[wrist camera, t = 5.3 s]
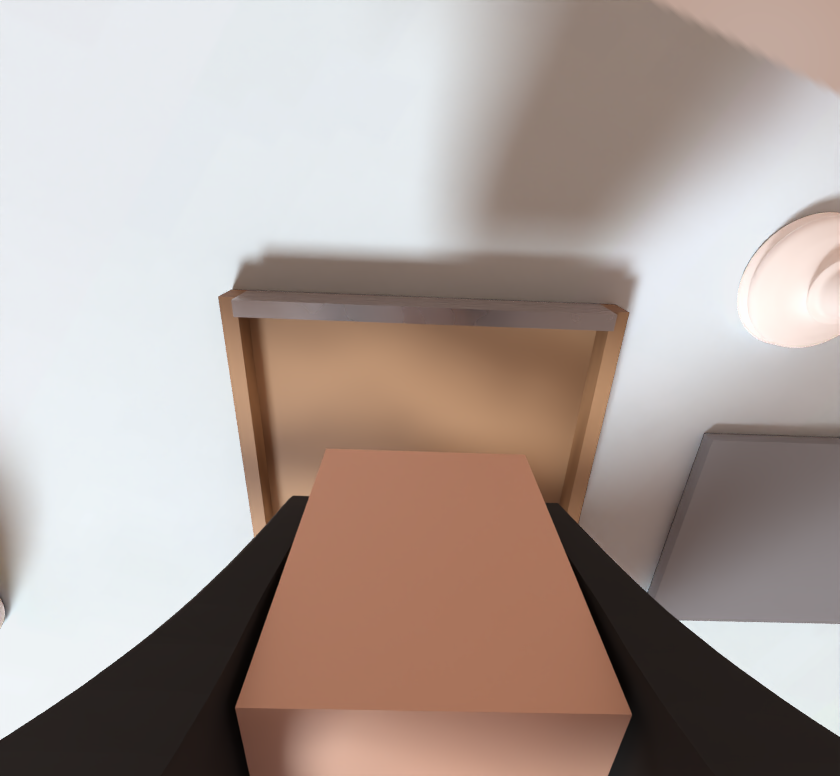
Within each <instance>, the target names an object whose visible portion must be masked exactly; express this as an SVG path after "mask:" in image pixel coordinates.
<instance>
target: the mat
mask: <svg viewBox="0 0 840 776" xmlns="http://www.w3.org/2000/svg"><path fill="white" fill-rule="evenodd" d="M648 594H649V595H650V596H651V597H652V598H654V599H655V600H656V601H657V602H658V603H659V604H660V605H661V606H662V607H664V608H665V609H666V610H667V611H668V612H669V613H670V614H672V615H673V616H674V617H675V618H676V619H677V620H691V621H736V622H781V623H826V624H840V438H832V437H802V436H771V435H740V434H709V433H704V436H703V439H702V442H701V445H700V447H699V450H698V453H697V456H696V459H695V462H694V464H693V467H692V470H691V473H690V476H689V478H688V481H687V484H686V487H685V490H684V492H683V495H682V498H681V501H680V504H679V507H678V509H677V512H676V515H675V518H674V521H673V523H672V526H671V529H670V532H669V535H668V537H667V540H666V543H665V546H664V549H663V552H662V554H661V557H660V560H659V563H658V566H657V568H656V571H655V574H654V577H653V580H652V582H651V585H650V588H649V591H648Z"/></svg>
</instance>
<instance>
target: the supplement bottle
mask: <svg viewBox="0 0 840 776" xmlns="http://www.w3.org/2000/svg"><path fill="white" fill-rule="evenodd" d="M4 618H5V609H4V605H3V603H2V601H1V599H0V628H1V626H2V624H3V621H4Z"/></svg>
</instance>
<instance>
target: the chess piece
mask: <svg viewBox="0 0 840 776" xmlns="http://www.w3.org/2000/svg"><path fill="white" fill-rule="evenodd" d="M737 308H738V313H739V317H740V319H741V322H742V324H743V325H744V327H745V328H746V330H747V331H748V332H749V333H750V334H751V335H752V336H754V337H755V338H757V339H759V340H761V341H763V342H766V343H769V344H774V345H778V346H782V347H788V348H803V347H809V346H814V345H818V344H821V343H824V342H826V341H829V340H831V339H833V338H835V337H837V336H839V335H840V213H837V212H824V213H817V214H813V215H809V216H806V217H803V218H801V219H798V220H796V221H794V222H792V223H790V224H788V225H787V226H785V227H783V228H782V229H780V230H779V231H778V232H776V233H775V234H774V235H773V236H771V237H770V238H769V239H768V240H767V241H766V242H765V243H764V244H763V245H762V246H761V247H760V248H759V249H758V251H757V252H756V253H755V254H754V256H753V257H752V259H751V260H750V262H749V264H748V265H747V267H746V269H745V271H744V273H743V276H742V278H741V281H740V284H739V289H738V295H737Z"/></svg>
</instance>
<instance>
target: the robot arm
mask: <svg viewBox="0 0 840 776" xmlns="http://www.w3.org/2000/svg"><path fill="white" fill-rule="evenodd" d="M308 499H309V496H292V497H290V498H289V499H288V500H287V501H286V503H285V504H284V505H283V506H282V507H281V508H280V509H279V511H278V512H277V513H276V514H275V515H274V516H273V517H272V519H271V520H270V521H269V522H268V523H267V524H266V525H265V526H264V527H263V529H262V530H261V531H260V532H259V533H258V534H257V535H256V536H255V537H254V538H253V539H252V541H251V542H250V543H249V544H248V545H247V546H246V547H245V548H244V549H243V550H242V551H241V552H240V553H239V554H238V555H237V556H236V557H235V558H234V559H233V560H232V561H231V562H230V563H229V564H228V565H227V566H226V567H225V568H224V569H223V570H222V571H221V572H220V573H219V574H218V575H217V576H216V577H215V578H214V579H213V580H212V581H211V582H210V583H209V584H208V585H207V586H205V587H204V588H203V589H202V590H201V591H200V592H199V593H198V594H197V595H196V596H195V597H194V598H193V599H192V600H190V601H189V602H188V603H187V604H186V605H185V606H184V607H183V608H181V609H180V610H179V611H178V612H177V613H176V614H174V615H173V616H172V617H171V618H170V619H169V620H167V621H166V622H165V623H164V624H163V625H161V626H160V627H159V628H158V629H157V630H155V631H154V632H153V633H152V634H150V635H149V636H148V637H147V638H145V639H144V640H143V641H142V642H140V643H139V644H138V645H136V646H135V647H134V648H133V649H131V650H130V651H129V652H127V653H126V654H125V655H123V656H122V657H121V658H119V659H118V660H117V661H115V662H114V663H113V664H111V665H110V666H109V667H107V668H106V669H104V670H103V671H102V672H100V673H99V674H98V675H96V676H95V677H94V678H92V679H91V680H90V681H88V682H87V683H86V684H84V685H83V686H81V687H80V688H78V689H77V690H75V691H74V692H73V693H71V694H70V695H68V696H67V697H65V698H64V699H62V700H61V701H59V702H58V703H56V704H55V705H53V706H52V707H50V708H49V709H48V710H46V711H45V712H43V713H41V714H40V715H38V716H37V717H35V718H34V719H32V720H31V721H29V722H28V723H26V724H25V725H23V726H21V727H20V728H18V729H17V730H15V731H14V732H12V733H11V734H9V735H8V736H6V737H4V738H3V739H1V740H0V776H250V774H249V769H248V765H247V760H246V756H245V751H244V747H243V742H242V737H241V733H240V728H239V724H238V719H237V715H236V710H235V706H236V704H237V701H238V698H239V695H240V692H241V689H242V686H243V684H244V681H245V678H246V675H247V672H248V669H249V667H250V664H251V661H252V658H253V655H254V652H255V650H256V647H257V644H258V641H259V638H260V635H261V632H262V630H263V627H264V624H265V621H266V618H267V615H268V613H269V610H270V607H271V604H272V601H273V598H274V596H275V593H276V590H277V587H278V584H279V581H280V578H281V576H282V573H283V570H284V567H285V564H286V561H287V559H288V556H289V553H290V550H291V547H292V544H293V542H294V539H295V536H296V533H297V530H298V527H299V524H300V522H301V519H302V516H303V513H304V510H305V507H306V505H307V502H308ZM545 504H546V507H547V509H548V511H549V514H550V516H551V519H552V521H553V524H554V526H555V528H556V531H557V533H558V536H559V538H560V541H561V543H562V545H563V548H564V550H565V553H566V555H567V558H568V560H569V562H570V565H571V567H572V570H573V572H574V575H575V577H576V579H577V582H578V584H579V587H580V589H581V592H582V594H583V596H584V599H585V601H586V604H587V606H588V609H589V611H590V613H591V616H592V618H593V621H594V623H595V626H596V628H597V630H598V633H599V635H600V638H601V640H602V642H603V645H604V647H605V650H606V652H607V655H608V657H609V659H610V662H611V664H612V667H613V669H614V672H615V674H616V676H617V679H618V681H619V684H620V686H621V689H622V691H623V693H624V696H625V698H626V701H627V703H628V706H629V708H630V710H631V713H632V716H631V719H630V721H629V724H628V726H627V729H626V731H625V734H624V736H623V739H622V741H621V744H620V746H619V749H618V751H617V754H616V757H615V759H614V762H613V764H612V767H611V769H610V772H609V774H608V776H840V737H839V736H838V735H836V734H834V733H833V732H831V731H830V730H828V729H827V728H825V727H823V726H822V725H820V724H819V723H817V722H816V721H814V720H813V719H811V718H810V717H808V716H807V715H805V714H804V713H802V712H801V711H799V710H798V709H796V708H795V707H793V706H792V705H790V704H789V703H787V702H786V701H784V700H783V699H782V698H780V697H779V696H777V695H776V694H775V693H773V692H772V691H770V690H769V689H768V688H766V687H765V686H763V685H762V684H761V683H759V682H758V681H756V680H755V679H754V678H752V677H751V676H749V675H748V674H747V673H745V672H744V671H742V670H741V669H740V668H738V667H737V666H736V665H734V664H733V663H732V662H730V661H729V660H728V659H726V658H725V657H724V656H722V655H721V654H720V653H718V652H717V651H716V650H715V649H713V648H712V647H711V646H710V645H708V644H707V643H706V642H705V641H703V640H702V639H701V638H700V637H698V636H697V635H696V634H695V633H693V632H692V631H691V630H690V629H688V628H687V627H686V626H685V625H683V624H682V623H681V622H680V621H679V620H677V619H676V618H675V617H674V616H673V615H672V614H670V613H669V612H668V611H667V610H666V609H665V608H664V607H662V606H661V605H660V604H659V603H658V602H657V601H656V600H655V599H654V598H652V597H651V596H650V595H649V594H648V593H647V592H646V591H645V590H644V589H642V588H641V587H640V586H639V585H638V584H637V583H636V582H635V581H634V580H633V579H632V578H631V577H630V576H629V575H628V574H627V573H626V572H625V571H623V570H622V569H621V568H620V567H619V566H618V565H617V564H616V563H615V562H614V561H613V560H612V559H611V558H610V557H609V556H608V555H607V554H606V553H605V552H604V551H603V550H602V549H601V548H600V547H599V545H598V544H597V543H596V542H595V541H594V540H593V539H592V538H591V537H590V536H589V535H588V534H587V533H586V532H585V531H584V530H583V529H582V528H581V527H580V526H579V525H578V523H577V522H576V521H575V520H574V519H573V518H572V517H571V516H570V515H569V514H568V513H567V512H566V511H565V510H564V509H563V508H562V507H561V506H560V505H559V504H558V503H545Z"/></svg>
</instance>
